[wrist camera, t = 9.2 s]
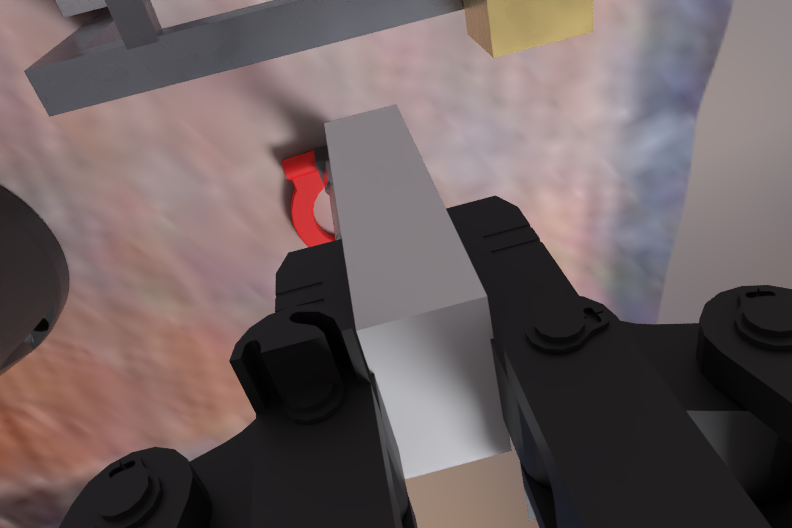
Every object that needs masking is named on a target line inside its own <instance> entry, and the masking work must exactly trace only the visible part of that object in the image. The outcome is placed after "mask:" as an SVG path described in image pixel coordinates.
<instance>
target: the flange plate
mask: <svg viewBox="0 0 792 528" xmlns="http://www.w3.org/2000/svg"><path fill="white" fill-rule="evenodd" d="M55 1H56V3H57V5H58V7H59V9H60V11H61V13H62V15H63V17H64V18H65V17H69V16H72V15H76V14H80V13H84V12H88V11H92V10H96V9H100V8H103V7H107V5H106V3H105V0H55Z"/></svg>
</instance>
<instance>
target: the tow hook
mask: <svg viewBox="0 0 792 528" xmlns="http://www.w3.org/2000/svg"><path fill="white" fill-rule="evenodd" d="M282 167H283V171H284V173H285V176H286V177H287V179H288V180H292V182H293V184H294V187H295V189H294V191H293V193H292V200H291V216H292V222H293V226H294V228H295V230H296V232H297V234H298V236H299V237H300V238H301V240H302V241H303V242H304V243H305V244H306V245H307V246H308V247H312V246H316V245H320V244H323V243H327V242H331V241H335V240H338V239H342V236H341V230H340V223H339V217H338V210H337V204H336V198H335V191H334V185H333V178H332V172H331V165H330V159H329V153H328V146H327V145H324V146H321V147H318V148H315V149H314V150H313V151H310V152H307V153H304V154H301V155H297V156H294V157H291V158H288V159H284V160H282ZM324 187H325V192H326V193H327V194H328V195H330V203H331V210H332V217H333V225H334V232H335V236H332V235H330V234H329V233H327V232H326V231H324V230H323V229H322V228H321V227H320V226H319V225H318V223H317V221H316V219H315V217H314V214H313V207H314V202H315V200H316V198H317V196H318V194H319V192H320V191H321V190H322V189H323V188H324Z"/></svg>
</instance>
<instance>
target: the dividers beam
mask: <svg viewBox="0 0 792 528" xmlns="http://www.w3.org/2000/svg"><path fill="white" fill-rule="evenodd" d="M105 3H106V5H107V7H108V9H109V11H110V14H108V15H104V16H100V17H96V18H92V19H90V20H89V21H88V22H87V23H85V24H84V25H83V26H81V27H80V28H79V29H78V30H76V31H75V32H74V33H72V34H71V35H70V36H69V37H67V38H66V39H65V40H63V41H62V42H61V43H60V44H58V45H57V46H56V47H54V48H53V49H52V50H51V51H49V52H48V53H47V54H45V55H44V56H43V57H42V58H40V59H39V60H38V61H37V62H35V63H34V64H33V65H31V66H30V67H29V68H28V69H26V70H25V71H24V72H25V74H26V76H27V77H28V79H29V81H30V83H31V85H32V86H33V88H34V90H35V92H36V93H37V95H38V97H39V99H40V101H41V102H42V104H43V106H44V108H45V109H46V111H47V113H48V115H49V117H50V116H53V115H57V114H61V113H65V112H69V111H73V110H77V109H80V108H84V107H88V106H92V105H96V104H100V103H104V102H107V101H111V100H115V99H119V98H123V97H127V96H131V95H134V94H138V93H142V92H146V91H150V90H154V89H158V88H161V87H165V86H169V85H173V84H177V83H181V82H184V81H188V80H192V79H196V78H200V77H204V76H208V75H211V74H215V73H219V72H223V71H227V70H231V69H235V68H238V67H242V66H246V65H250V64H254V63H258V62H262V61H265V60H269V59H273V58H277V57H281V56H285V55H289V54H292V53H296V52H300V51H304V50H308V49H312V48H316V47H319V46H323V45H327V44H331V43H335V42H339V41H343V40H346V39H350V38H354V37H358V36H362V35H366V34H369V33H373V32H377V31H381V30H385V29H389V28H393V27H396V26H400V25H404V24H408V23H412V22H416V21H420V20H423V19H427V18H431V17H435V16H439V15H443V14H447V13H450V12H454V11H458V10H462V9H464V3H463V0H273V1H269V2H265V3H261V4H257V5H253V6H250V7H246V8H242V9H238V10H234V11H230V12H226V13H222V14H219V15H215V16H211V17H207V18H203V19H199V20H195V21H191V22H188V23H184V24H180V25H176V26H172V27H168V28H164V29H162V28H161V25H160V23H159V21H158V18H157V16H156V13H155V11H154V9H153V6H152V4H151V1H150V0H105Z"/></svg>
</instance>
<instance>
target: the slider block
mask: <svg viewBox="0 0 792 528" xmlns="http://www.w3.org/2000/svg"><path fill="white" fill-rule="evenodd" d="M463 3H464V11H465V18H466V25H467V33H468V35H469V36H470V37H471V38H472V39H474V40H475V41H476V42H477V43H478V44H479V45H480V46H481V47H482V48H483V49H484V50H486V51H487V52H488V53H489V54H490V55H491V56H492V57H493V58H494V57H498V56H502V55H506V54H510V53H514V52H518V51H521V50H525V49H529V48H533V47H537V46H541V45H544V44H548V43H552V42H556V41H560V40H564V39H567V38H571V37H575V36H579V35H583V34H587V33H591V32H593V0H463Z"/></svg>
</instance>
